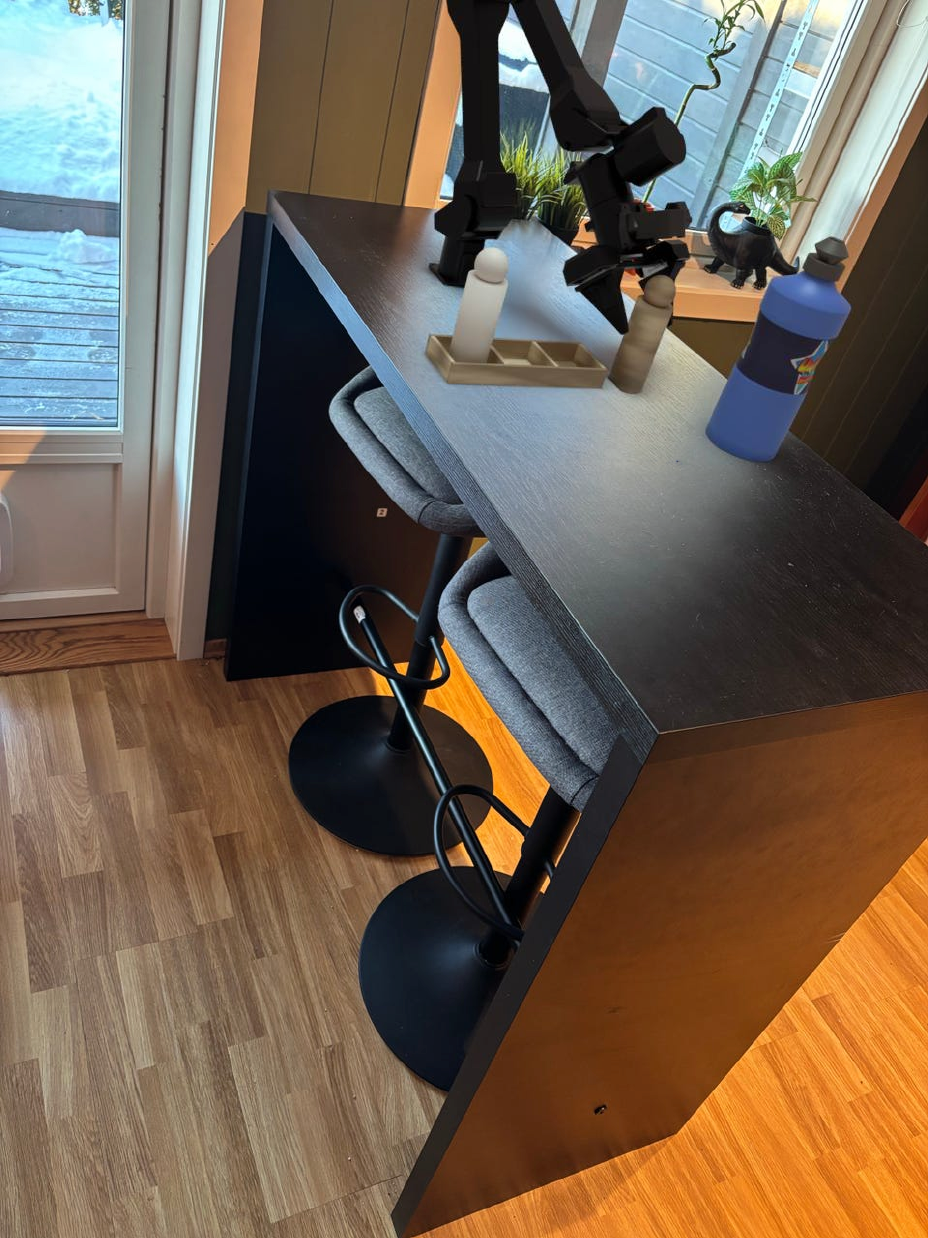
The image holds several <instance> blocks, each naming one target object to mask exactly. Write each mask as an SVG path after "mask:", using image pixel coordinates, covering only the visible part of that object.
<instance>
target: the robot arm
mask: <svg viewBox="0 0 928 1238" xmlns="http://www.w3.org/2000/svg"><path fill="white" fill-rule="evenodd" d="M445 2H446V8H447V14H448V16H449V17H450V20H451V22H452V23H453V26H454V29H455V30H456V32H457V34H458V37H459V43H460V46H459V47H460V76H461V77H460V78H461V82H460V83H461V106H462V107H461V108H462V110H461V111H462V138H463V139H462V140H463V142H462V145H463V146H462V147H463V161H462V164H461V166H460V169H459V171H458V173H457V176H456V177H455V179H454V182H453V187H452V189H453V191H452V200H451V201H449V202H448V203H447V204H445V205H444V206H442V207H441V208H440V209H439V210H436V211H435V212H434V215H433V217H434V218H433V219H434V221H433V224H434V225H433V226H434V228H433V229H434V231H436V232H437V233H440V234H441V235H443V236H444V240H443V244H442V248H441V254H440V257H439V261H438V263H434V262H430V263H429V265H428V268H429V269H430V270H431V271H432V272H433V273H434V274H435V275H436V276H437V278H438V279H439V280H440V281H441V282H442V283H443V284H444V285H451V286H459V287H460V286H462V287H465V284H466V280H467V276H468V272H469V271H471V270H475V268H474V264H475V260H476V257H477V255H478V254H479V253H480V252H481V251H482V250H484V249H485V246H486V240H494V241H495V240H499V238H500V237H501V235H502V233H503V231H504V230H505V229H506V228H507V227H508V226H509V224H510V223H511V221H513V219H514V215H515V211H516V209H515V208H516V207H517V206H519V201H518V197H517V184H518V183H517V182H518V177H517V175H516V172H507V169H506V168H505V166H504V163H503V162H502V158H501V157H502V156H501V119H500V118H501V117H500V116H501V112H500V109H501V108H500V105H501V104H500V59H499V58H500V57H499V54H500V52H499V48H500V47H499V38H500V34H501V31H502V29H503V27H504V24H505V23H506V21H507V18H508V16H509V13H510V5H511V7H512V9H513V11H514V13H515V15H516V18H517V20H518V23H519V24H520V27H521V29H522V31H523V33H524V36H525V38H526V41H527V44H528V45H529V48H530V50H531V52H532V55H533V57H534V59H535V61H536V63H537V66H538V68H539V71H540V73H541V74H542V75H541V76H542V77H543V79H544V82H545V84H546V86H547V90H548V94H549V106H548V107H549V108H548V114H549V119H550V122H551V125H552V130H553V132H554V136H555V140H556V142H557V144H558V145H559V147H560V148H561V149H562V150H564V151H567V152H571V153H586V154H587V153H590V154H592V155H591V156H589V157H587V158H586V159H584V160H583V161H582V160H572V161H570V163H569V167H568V169H567V171H566V173H565V174H564V177H563V180H562V184H563V185H564V186H579V187H580V189H581V193H582V197H583V199H584V200H583V201H584V203H585V207H586V210H587V213H588V216H589V221H586V222H585V223H584V224H583V226H584V229H585V232H586V233H593V234H594V237H595V240H596V241H595V242H596V244H594V245H590V246H589V247H587V248H585V249H583V250H582V251H580V252H578V253H576V254H575V255H572V256H571V257H570V258H568V259H566V260H565V261H564V265H563V267H562V270H561V271H562V275H563V279H564V282H565V286H566V287H574V291H575V293H580V294H581V295H582V296H583V297H584V298H585V299H586V300H587V301H588V303H590V304H591V305H592V306H593V307H594V308H595V309H596V310H597V311H599V313H600V314H601V315H602V316H603V317H604V318H605V319H606V320H607V322H608V323H609V324H610V325H611V326H612V327H613V328H614V329H615V330H616V331H617V333H618V334H619V335H621V336H623V335H624V334H626V333H628V332H629V327H628V322H629V319H628V316H627V315H628V314H627V311H626V306H625V303H624V302H625V301H624V297H623V292H622V289H621V284H622V280H623V277H624V273H625V270H626V271H627V270H634V272H635V274H636V275H637V276H638V277H639V278H640V280H638V281H637V284H638V285H639V288H640V289H641V290H642V292H643V294H644V288H645V285H646V284H647V282H648V281H649V280H650V279H651V278H652V277H654V276H657V275H665V276H667V277H669V278H670V279H672V281H673V282H674V284H675V283H676V278H677V277H678V275H679V273H680V272H681V270H682V269H684V268H685V267H686V263H687V261H689V260H690V259H691V258H692V257H691V254H690V251H689V248H688V243H686V242H685V241H683V240H681V238H682V239H684V238H686V230H688V229H689V227H690V226H691V224H692V222H693V217H692V216H691V212H690V209H689V208H688V205H687V203H686V200H685V201H684V200H683V201H676V202H675V201H673V202H672V201H671V202H667V203H666V204H665V207H664V209H659V210H648V207H647V205H646V203H644V202H639V201H638V202H636V200H635V197H634V193H633V190H632V186H631V184H632V185H634V186H636V187H638V188H642V187H644V186H647V185H648V184H650V183H651V182H653V181H655V180H656V179H658V178H660V177H662V176H663V175H665V174H666V173H668V172H670V171H672V169H675V168H676V167H677V166H679V165H681V164H683V162H684V161H685V159H686V157H687V144H686V139H685V136H684V135H683V133H681V132H680V129H679V127H678V126H677V125H676V123H675V122H674V121H673V120H672V119H671V118H670V117H669V116H668V115H667V112H666V109H665V107H661V106H652V107H651V108H649V109H648V110H647V111H645V112H644V113H643V114H642V115H641V116H640V117H639V118H638V119H636V120H634V121H632V123H628V122H626V121H625V120H623V119H622V117H621V114H620V111H619V109H618V108H617V106H616V105H615V103H614V102H613V101H612V99H611V98H610V95H609V94H608V92H607V91H606V90H605V88H603V87H602V86H601V85H600V84H599V83H598V82H597V81H596V80H595V79H594V78H592V76H591V75H590V74H589V72H588V71H587V69H586V68H585V65H584V63H583V60H582V59H581V56H580V54H579V51H578V49H577V47H576V45H575V43H574V40H573V38H572V35H571V34H570V31H569V29H568V27H567V25H566V22H565V20H564V17H563V15H562V13H561V10H560V9H559V7H558V4H557V2H556V0H445ZM611 148H612V149H611ZM610 149H611V150H610ZM607 151H608V152H607ZM605 152H606V153H605ZM673 237H676V239H673ZM660 240H662V241H660ZM675 285H676V284H675ZM674 300H675V299H674ZM674 300H673V301H672V302H671V303H670V304H671V305H672V306H673V307H674ZM673 324H674V311H673V312H672V314H671V317H670V319H669V322H668V324H667V327H666V328H669V327H671V326H673Z"/></svg>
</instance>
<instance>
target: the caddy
mask: <svg viewBox="0 0 928 1238" xmlns="http://www.w3.org/2000/svg"><path fill="white" fill-rule="evenodd" d="M452 337H453V334H452V335H451V334H437V333H436V334H435V333H433V334H432V333H429V334H428V339H427V343H426V346H425V351H424V354H425V356H426V357H427V358H428V360H429V361H430V362H431V363H432V365H433V366H434V367H435V369H436V370H437V371H438V372H439V374H440V375H441V377H442V378H443V379H444V381H445V382H446V383H447V384H448V385H450V384H451V385H475V386H481V385H482V386H483V385H484V386H509V387H512V386H513V387H515V386H517V387H538V388H539V387H541V388H542V387H546V388H547V387H548V388H575V389H578V388H579V389H603V386H604V383H605V381H606V378H607V376H608V374H609V369H608V368H607V367H606V366H605V365H604V364H603V363H602V362H601V361H599V359H597V357H595V355H594V354H592V353H591V352H590V350H588V349H587V347H585V346H584V345H583V344H582V343H581V342H576V341H575V342H574V341H562V340H559V341H557V340H543V339H542V340H541V339H540V340H539V339H526V338H525V339H524V338H506V337H505V338H504V337H503V338H502V337H494V338H493V341H492V345H491V348H490V352H489V356H488V359H487V363H467V362H455V361H454V360H453V358H452V357H451V356H450V355H449V349H450V345H451V341H452Z"/></svg>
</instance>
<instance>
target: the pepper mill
mask: <svg viewBox="0 0 928 1238" xmlns="http://www.w3.org/2000/svg"><path fill="white" fill-rule="evenodd" d="M676 287H677V286H676V284H674V282H673V281H672V279H670V278H669V277H667V276H665V275H657V276H654V277H652V278H651V279H650V280H649V281H648V282H647V284H646V285H645V288H644V293H643V294H639V295H638V296H637V297H636V300H635V304H634V305H633V309H632V311H631V314H630V316H629V319H628V327H629V332H628V333H626V334H624V335H622V338H621V341H620V343H619V346H618V350H617V352H616V354H615V357H614V360H613V362H612V366H611V368H610V371H609V372H608V375H607V376H608V377H607V379H608V381H609V382H611V384H612V385H614V387H616V388H617V389H618V391H620V392H624V393H628V394H639V393H641V392H642V390H643V387H644V385H645V382H646V380H647V377H648V375H649V372H650V369H651V366H652V365H653V362H654V359H655V358H656V357H655V356H656V354H657V352H658V350H659V347H660V344H661V342H662V340H663V337H664V335H665V333H666V329H667V328H668V327H667V324H668V322H669V319H670V317H671V314H672V312H673V313H674V305H673V306H672V305H671V304H670V303H671V302H672V301H673V300H675V297H676V292H677V289H676Z"/></svg>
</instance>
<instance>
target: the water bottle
mask: <svg viewBox="0 0 928 1238" xmlns="http://www.w3.org/2000/svg"><path fill="white" fill-rule="evenodd" d="M814 249H815V252H809V253H807V256H806V258H805V261H804V262H803V264H802V271H800V272H798V273H795V274H789V275H779V276H773V277H772V278H771V279H770V281H769V283H768V285H767V288H766V289H765V291H764V295H763V296H762V299H761V301H760V304H759V307H758V308H759V309H758V313H757V316H756V320H755V323H754V325H753V327H752V330H751V331H752V332H751V334H750V338H749V341H748V343H747V344H746V345H745V348H744V349H743V351H742V352H741V353H740V356H739V357H738V359H737V360H736V362H735V364H734V365H733V368H732V369H731V372H730V374H729V377H728V378H727V381H726V383H725V385H724V388H722V389H723V390H722V392H721V394H720V397H719V398H718V401H717V403H716V405H715V407H714V409H713V412H712V414H711V417H710V418H709V421H708V423H707V425H706V427H705V435H706V437H707V439H708V440H710V442H712V443H713V445H714V446H716V447H717V448H719V449H721V450H722V451H724V452H725V453H728V454H729V455H732V456H734V457H737V458H739V459H742V460H747V461H750V462H751V461H752V462H758V463H759V462H760V463H766V462H770V461H772V460H774V459H775V457H776V455H777V454H778V451H779V450H780V447H781V446H782V443H783V441H784V439H785V438H786V436H787V434H788V432H789V430H790V427H791V426H792V424H793V422H794V420H795V417H796V415H797V414H798V411H799V410H800V408H801V406H802V404H803V402H804V400H805V397H806V395H807V394H808V391H809V389H810V385H811V383H812V379H813V376H814V373H815V370H816V367H817V366H818V365H819V363H820V362H821V360H822V358H823V356H824V355H825V353H827V350H828V349H829V347H830V345H831V344H832V343H833V341H834V340H835V339H836V338H837V337H838V336H839V334H840V333H841V330H842V328H843V326H844V325H845V322H846V320H847V318H848V316H849V314H850V312H851V310H852V306H851V305H850V303H849V301H847V299H846V298H845V297H844V296H843V295H842V294H841V293H840V291H839V290H838V288H837V284H836V282H839V281H840V279H841V277H842V275H843V273H844V271H845V269H846V265H845V264H844V263H843V261H844V260H846V259H848V258H849V257H850V255H849V252H848V249H847V246H846V243H845V241H844V240H843V239H841V238H838V237H834V236H828V237H826V238H823V239H821V240H819V241H818V242H816V243H814Z"/></svg>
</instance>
